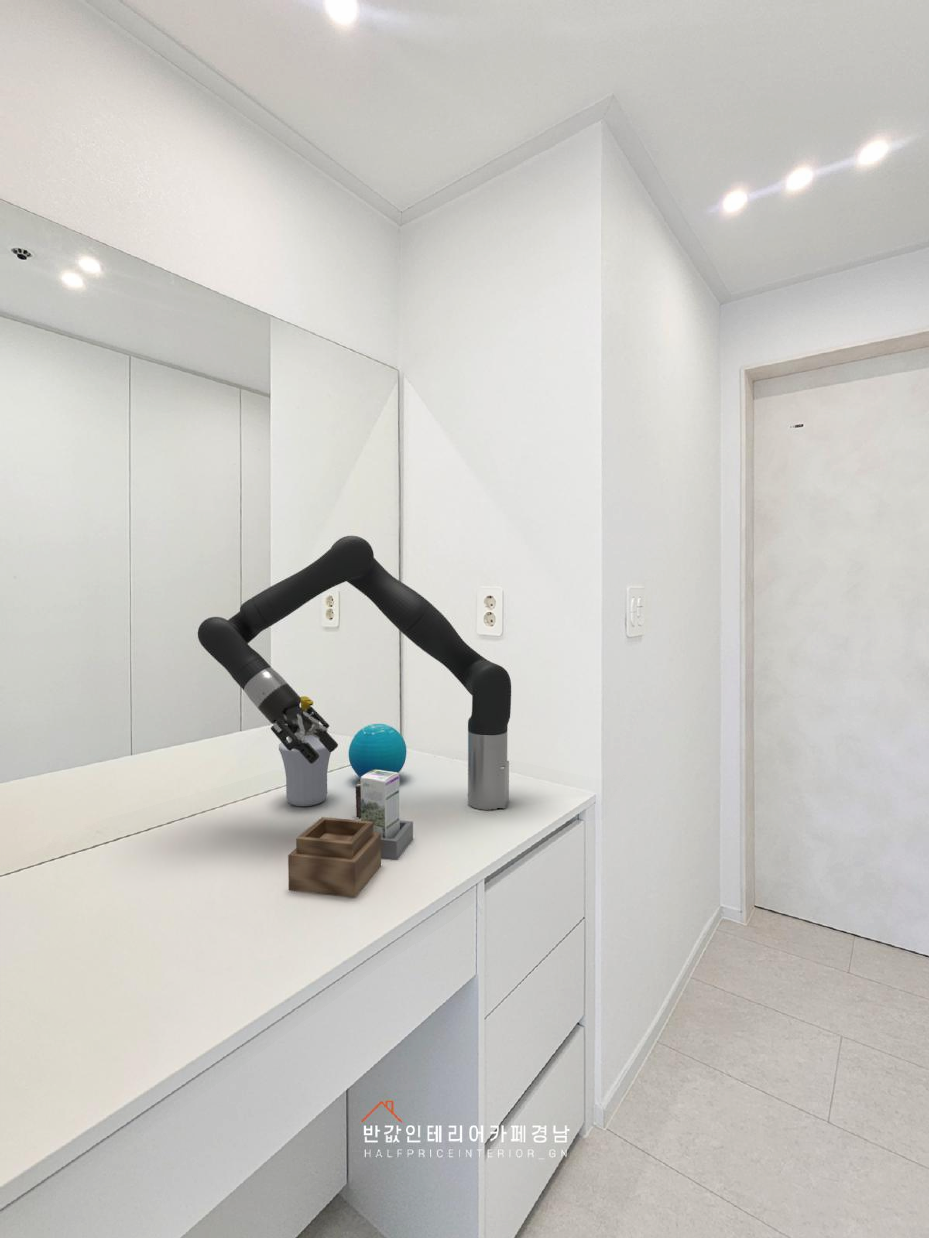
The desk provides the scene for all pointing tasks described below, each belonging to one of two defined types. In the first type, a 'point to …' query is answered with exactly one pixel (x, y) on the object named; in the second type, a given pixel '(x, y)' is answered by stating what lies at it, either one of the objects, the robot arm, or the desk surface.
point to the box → (358, 800)
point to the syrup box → (381, 801)
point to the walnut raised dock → (335, 857)
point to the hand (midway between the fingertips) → (325, 754)
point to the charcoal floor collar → (397, 841)
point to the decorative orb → (377, 749)
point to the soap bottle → (305, 770)
